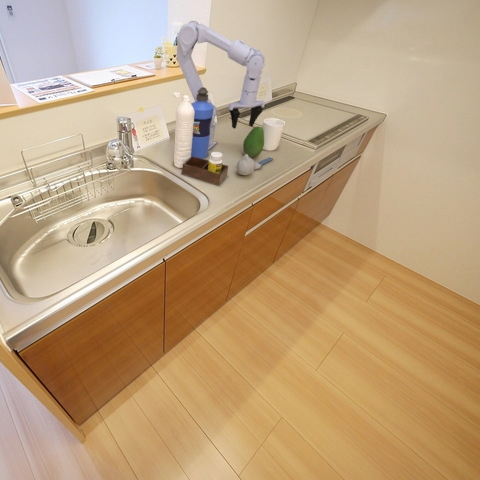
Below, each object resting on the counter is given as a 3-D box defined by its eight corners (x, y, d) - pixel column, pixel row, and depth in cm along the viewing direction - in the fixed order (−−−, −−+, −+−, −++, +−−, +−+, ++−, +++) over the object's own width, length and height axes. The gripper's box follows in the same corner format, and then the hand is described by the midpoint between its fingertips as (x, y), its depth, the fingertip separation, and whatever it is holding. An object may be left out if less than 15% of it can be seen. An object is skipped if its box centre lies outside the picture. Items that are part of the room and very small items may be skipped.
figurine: (257, 177, 101) (262, 156, 95) (239, 179, 100) (244, 159, 94) (248, 168, 105) (253, 148, 100) (232, 170, 104) (236, 150, 99)
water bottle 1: (193, 164, 108) (200, 96, 91) (182, 170, 105) (186, 100, 88) (177, 157, 113) (180, 90, 95) (166, 162, 109) (167, 94, 92)
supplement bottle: (215, 180, 98) (218, 158, 92) (204, 176, 100) (207, 154, 95) (222, 175, 101) (226, 153, 95) (211, 171, 103) (214, 149, 97)
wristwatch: (234, 172, 104) (234, 170, 103) (267, 157, 112) (267, 155, 112) (243, 177, 101) (243, 174, 100) (275, 161, 110) (276, 159, 109)
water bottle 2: (195, 146, 120) (201, 83, 102) (212, 154, 115) (221, 88, 97) (180, 153, 115) (184, 87, 98) (197, 161, 110) (204, 93, 93)
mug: (285, 145, 121) (293, 120, 114) (269, 153, 115) (277, 127, 108) (268, 138, 126) (275, 114, 118) (253, 146, 120) (259, 121, 113)
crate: (182, 174, 103) (182, 164, 100) (191, 165, 108) (192, 155, 105) (218, 185, 97) (220, 175, 94) (226, 175, 102) (228, 165, 99)
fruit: (237, 156, 113) (243, 127, 105) (245, 150, 117) (252, 121, 109) (255, 162, 109) (263, 132, 101) (263, 155, 114) (271, 126, 106)
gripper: (261, 86, 107) (253, 121, 116) (227, 88, 104) (222, 124, 114) (271, 91, 102) (262, 127, 111) (235, 94, 99) (229, 131, 109)
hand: (242, 126), depth 112 cm, fingers open, 7 cm apart
